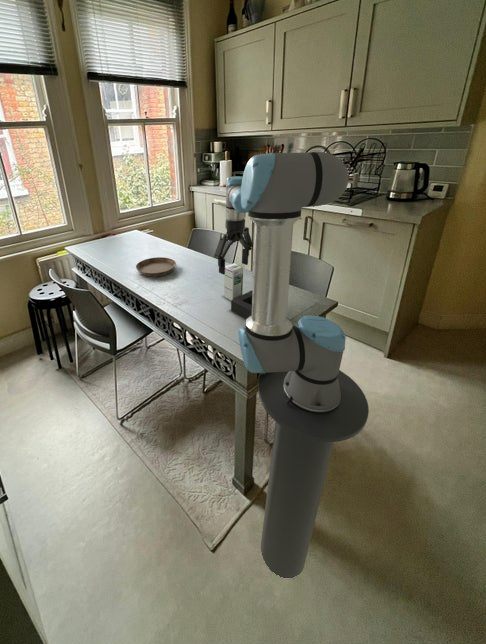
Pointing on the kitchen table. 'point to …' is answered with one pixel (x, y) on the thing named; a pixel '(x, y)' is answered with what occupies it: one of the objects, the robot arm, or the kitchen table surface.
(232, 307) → the dock
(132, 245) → the kitchen table surface
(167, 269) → the plant saucer
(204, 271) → the kitchen table surface
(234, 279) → the syrup box
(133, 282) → the kitchen table surface
